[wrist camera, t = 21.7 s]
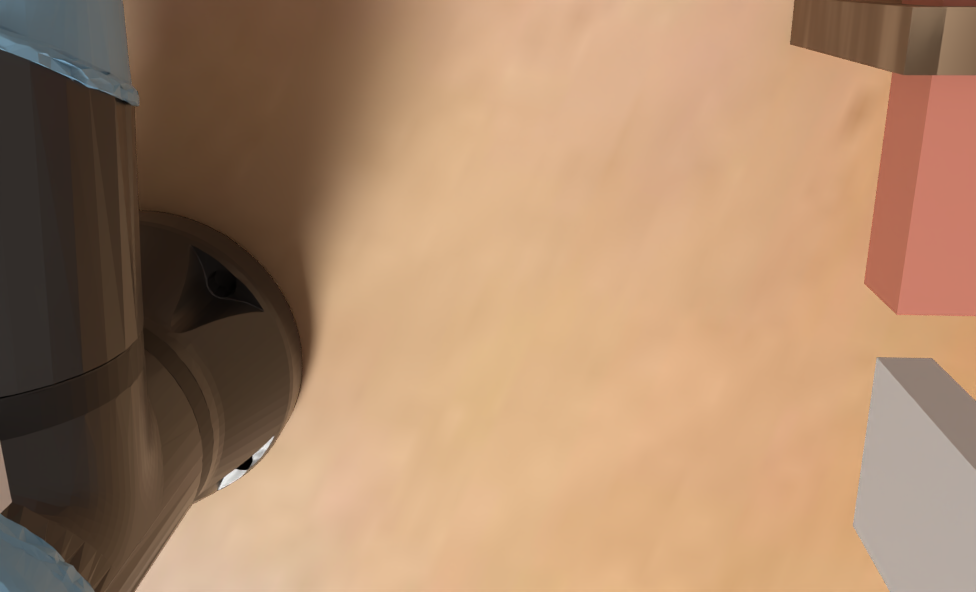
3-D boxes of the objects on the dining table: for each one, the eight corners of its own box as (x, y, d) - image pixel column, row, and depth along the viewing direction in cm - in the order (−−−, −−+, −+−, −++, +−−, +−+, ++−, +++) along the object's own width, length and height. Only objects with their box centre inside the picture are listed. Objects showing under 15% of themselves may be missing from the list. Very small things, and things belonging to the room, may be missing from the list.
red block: (864, 283, 36) (896, 314, 32) (926, -183, 30) (973, -202, 27) (939, 284, 35) (979, 316, 32) (1014, -184, 30) (1072, -204, 27)
